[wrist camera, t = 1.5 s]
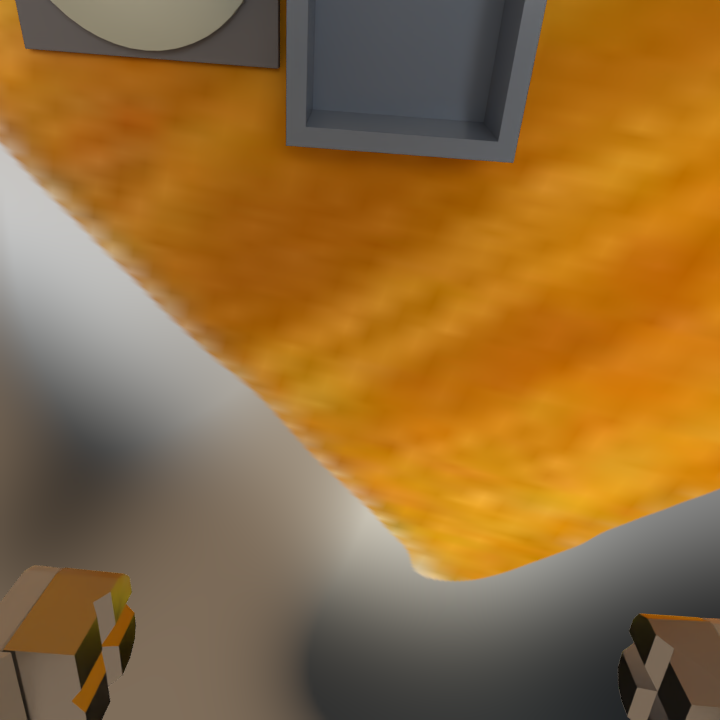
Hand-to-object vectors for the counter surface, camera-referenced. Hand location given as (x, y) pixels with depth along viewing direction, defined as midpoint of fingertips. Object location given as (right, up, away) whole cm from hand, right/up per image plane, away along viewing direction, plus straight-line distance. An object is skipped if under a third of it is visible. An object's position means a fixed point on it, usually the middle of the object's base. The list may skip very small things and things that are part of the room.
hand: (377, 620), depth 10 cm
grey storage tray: (+2, +23, +23) cm, 33 cm away
